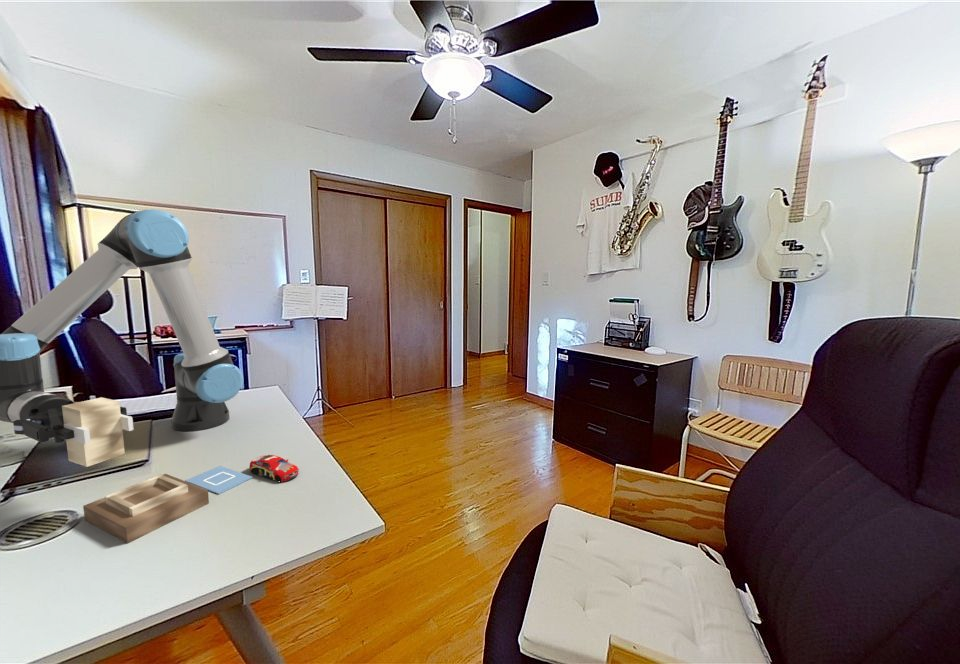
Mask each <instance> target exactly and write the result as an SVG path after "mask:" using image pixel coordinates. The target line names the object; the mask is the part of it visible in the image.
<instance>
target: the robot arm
mask: <svg viewBox="0 0 960 664" xmlns="http://www.w3.org/2000/svg"><path fill="white" fill-rule="evenodd" d="M189 236H190V235H189V232H188V230H187V227H186V225H184V223H183V222H182V220H180V218H178V217H176V216H175V215H173V214H171V213H170V212H167V211H164V210H160V209H154V208H153V209H144V210H143V209H142V210H138V211H136V212H134V213H130V214H127V215H125V216H124V217H123V218H121V219H120V220H118V222H117V223H116V225H115V226H114V227H113V228H112V229H111V230H110V232H109V233H108V234H107V235H106V236H104V238H103V239H101V240H100V241H99V242H98V243H97V248H98V249H97V251H94V253H93V254H92V255H90V256H89V257H88V258H87V259H85V260H84V262H83V263H81V264H80V265H79V266H78V267H77V268H75V269H74V270H73V271H72V272H71V273H70V274H68V276H66V277H65V278H64V279H63V280H61V282H59V283H57V285H56V286H54V288H52V289H51V290H50V291H48V293H46V294H45V295H44V296H43V297H42V298H41V299H40V300H39V301H38V302H36V303H35V304H34V305H33V306H31V307H30V308H29V309H28V310H27V311H25V313H24V314H23V315H21V316H20V317H19V318H18V319H17V320H16V321H14V322H12V324H11V326H9V327H8V328H6V329H5V330H4V331H3V332H2V333H0V421H1V422H5V423H11V424H13V431H14V435H24V436H26V437H28V438H30V439H32V440H35V441H37V442H39V443H46V442H47V441H49V440H50V439H51V438H54V443H55V444H58V443H59V444H60V443H63V442H65V440H66V439H67V440H68V439H70V440H73V441H76V442H80V443H83V444H88V443H91V442H90V433H89V429H88V428H85V427H81V426H77V425H74V424H70V423H67V424H64V419H63V411H62V406H64V405H69V404H73V403H75V402H74V401H73V400H72V399H70V398H68V397H65V396H61V395H57V394H55V393H49V392H45V388H44V387H45V386H44V380H43V379H44V378H43V374H42V373H43V372H42V362H41V355H40V354H41V352H42V351H43V350H44V349H45V348H47V346H48V345H49V344H50V343H52V341H53V340H54V339H55V338H56V337H58V336H59V335H60V334H61V333H62V332H63V331H64V330H65V329H66V328H68V327H69V326H70V325H71V324H72V323H73V322H74V321H75V320H76V319H77V318H78V317H79V316H80V315H82V313H84V312H85V311H86V310H87V309H88V308H89V307H90V306H91V305H93V303H94V302H96V301H97V300H98V298H99V299H100V297H101V296H102V295H103V294H104V293H105V292H106V291H107V290H109V289H110V288H111V287H112V286H114V284H115V283H116V282H118V280H119V279H120V278H121V277H123V276H124V275H125V274H126V273H127V272H128V271H129V270H137V269H139V270H141V271H144V272H145V273H147V274H148V275H149V277H150V278H151V281H152V284H153V286H154V288H155V290H156V293H157V295H158V297H159V300H160V302H161V304H162V306H163V309H164V311H165V313H166V316H167V318H168V321H169V323H170V325H171V327H172V330H173V332H174V335H175V337H176V338H177V342H178V343H179V346H180V348H181V350H182V353H179V354H176V355H175V356H174V358H173V364H172V366H173V368H174V381H175V393H176V405H175V408H174V411H173V414H172V418H171V428H172V429H173V430H175V431H179V432H180V431H181V432H191V431H192V432H193V431H201V430H206V429H211V428H215V427H219V426H220V425H223V424H225V423H228V421H230V411H229V408H228V406H227V405H226V402H228V401H229V400H231V399H233V398H234V397H236V395H238V394H239V392H240V390H241V389H242V387H243V385H244V376H243V372H242V371H241V370H240V368H239V367H238V366H236V365H234V362H233V360H232V357H231V355H230V353H229V350H228V349H226V348H224V347H221V346H220V343H219V341H218V339H217V336H216V333H215V331H214V328H213V326H212V323H211V320H210V318H209V316H208V314H207V311H206V308H205V305H204V303H203V300H202V298H201V295H200V292H199V291H198V288H197V286H196V283H195V280H194V277H193V275H192V273H191V269H190V268H189V266H190V265H189V264H190V263H191V261H192V260H193V257H192V254H191V252H190V249H189V246H188V245H189V240H190V239H189ZM120 412H121V422H122V431H128V432H132V431H134V430H135V429H134V419H133V416H131V415H128V411H127V407H125V406H120Z"/></svg>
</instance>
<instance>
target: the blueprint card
mask: <svg viewBox="0 0 960 664" xmlns="http://www.w3.org/2000/svg"><path fill="white" fill-rule="evenodd" d="M252 479H254V478H253V476H251V475H248V474H246V473H242V472H239V471H237V470H233V469H231V468H227V467H226V466H222V465H219V466H216V467H214V468H213V467H212V468H211V469H210V470H207V471H204V472H202V473H200V474H197V475H195V476H192V477H190V478H188V479H185V480H184V481H186V482H189V483H191V484H194V485H196V486H199V487H202V488H204V489H207V490H208V492H210V493H211V492H212V493H214V494H217V495H221V494H223V493H224V492H227V491H229V490H230V489H231V490H232V489H233V488H235V487H237V486H239V485H242V484H244V483H245V482H247V481H250V480H252Z"/></svg>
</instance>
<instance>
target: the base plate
mask: <svg viewBox="0 0 960 664" xmlns="http://www.w3.org/2000/svg"><path fill="white" fill-rule="evenodd" d="M209 503H210V500H209V491H208V490H207V489H204V488H202V487H199V486H196V485H194V484H191V483H189V482H186V481H185V480H183V479H181V478H178V477H175V476H173V475H170V474H168V473H164V474H159V475H156V476H154V477H151V478H148V479H146V480H143V481H141V482H139V483H136V484H133V485H130V486H128V487H125V488H123V489H120V490H117V491H115V492H113V493H110V494H107V495H105V496H104V497H102V498H100V499H97V500H94V501H92V502H89V503H87V504H84V505H83V507H82V508H83V515H84V517H83V518H84V521H86V522H88V523H89V524H91V525H92V526H94V527H97V528H98V529H100V530H103V531H104V532H106V533H108V534H110V535H111V536H114V537H116V538H117V539H119V540H121V541H123V542H125V543H127V544H129V543H132V542H134V541H135V540H137V539H140V538H141V537H144V536H145V535H147V534H149V533H152V532H153V531H155V530H158V529H159V528H162V527H164V526H165V525H168V524H170V523H172V522H174V521H176V520H178V519H180V518H182V517H184V516H187V515H188V514H190V513H192V512H194V511H196V510H198V509H200V508H203V507H204V506H206V505H209Z"/></svg>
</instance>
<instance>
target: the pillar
mask: <svg viewBox="0 0 960 664" xmlns="http://www.w3.org/2000/svg"><path fill="white" fill-rule="evenodd" d="M120 407H121V404H120V401H119V400H115V399H111V398H106V397H102V396H100V397H97V398H91V399H89V400H88V399H87V400H84V401H83V400H82V401H79V402H78V401H77V402H74V403H73V404H69V405H64V406H62V411H63V419H64V424H67V423H70V424H74V425H77V426H81V427H85V428H88V429H89V433H90V442H91V443H88V444H83V443H80V442H76V441H73V440H70V439H68V440H67V439H65V442H66V443H65V444H66V449H67V458H68V462H71V463H74V464H78V465H81V466H82V467H86V468H87V467H91V466H94V465H96V464H99V463H103V462H105V461H108V460H111V459H114V458H116V457H117V458H118V457H121V456H123V455H126V453H125V442H124V430H123V429H122V422H121V412H120Z"/></svg>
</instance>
